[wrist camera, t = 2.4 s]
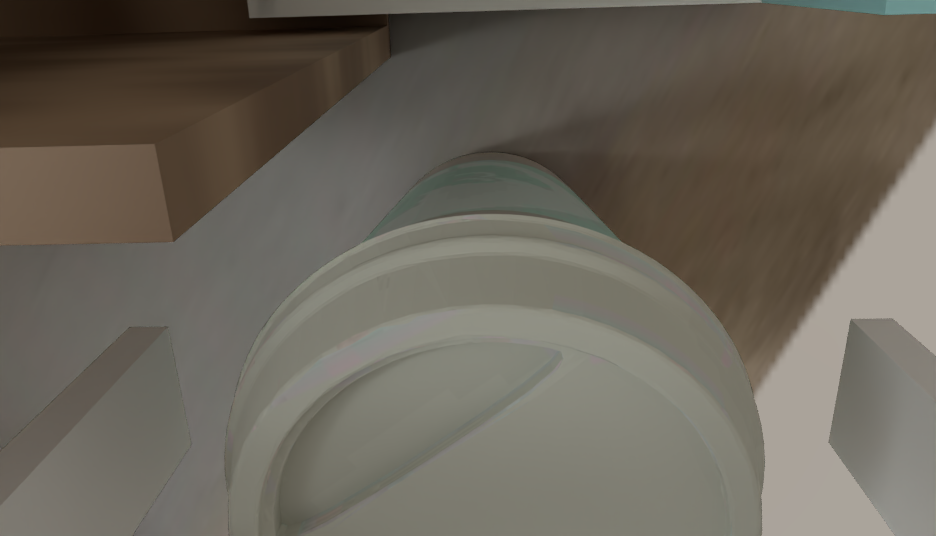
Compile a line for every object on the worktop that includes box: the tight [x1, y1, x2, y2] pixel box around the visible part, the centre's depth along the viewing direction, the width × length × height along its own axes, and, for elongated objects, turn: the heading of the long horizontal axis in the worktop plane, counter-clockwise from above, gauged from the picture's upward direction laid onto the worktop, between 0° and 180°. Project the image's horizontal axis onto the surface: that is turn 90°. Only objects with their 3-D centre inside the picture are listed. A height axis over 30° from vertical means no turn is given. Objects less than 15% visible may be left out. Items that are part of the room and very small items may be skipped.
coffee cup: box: [225, 152, 765, 536], centre depth 16 cm, size 8×8×12 cm
